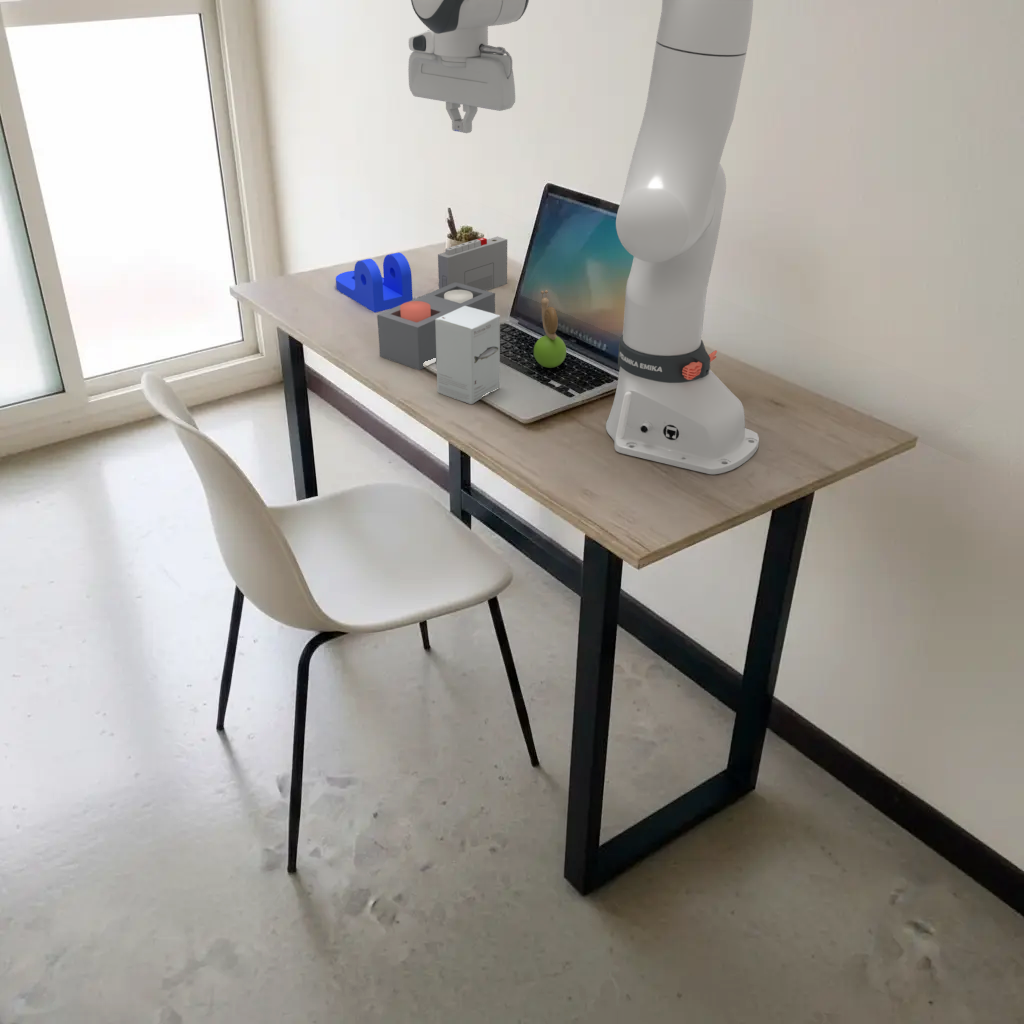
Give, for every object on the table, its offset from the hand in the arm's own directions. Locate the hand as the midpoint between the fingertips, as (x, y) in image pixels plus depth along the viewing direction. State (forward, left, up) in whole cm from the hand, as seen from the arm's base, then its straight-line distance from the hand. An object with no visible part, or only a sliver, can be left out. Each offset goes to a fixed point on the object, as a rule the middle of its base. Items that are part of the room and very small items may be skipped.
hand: (462, 131), depth 176 cm
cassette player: (+8, -12, -33) cm, 36 cm away
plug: (-4, +7, -32) cm, 33 cm away
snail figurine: (-24, +7, -33) cm, 42 cm away
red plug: (-4, +17, -31) cm, 36 cm away
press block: (-4, +12, -33) cm, 35 cm away
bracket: (+23, +2, -34) cm, 41 cm away
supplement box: (-20, +23, -33) cm, 45 cm away
